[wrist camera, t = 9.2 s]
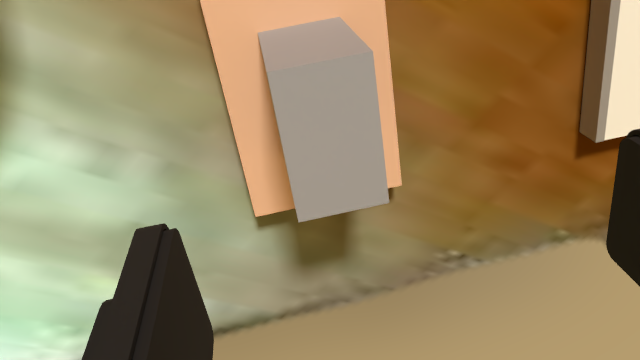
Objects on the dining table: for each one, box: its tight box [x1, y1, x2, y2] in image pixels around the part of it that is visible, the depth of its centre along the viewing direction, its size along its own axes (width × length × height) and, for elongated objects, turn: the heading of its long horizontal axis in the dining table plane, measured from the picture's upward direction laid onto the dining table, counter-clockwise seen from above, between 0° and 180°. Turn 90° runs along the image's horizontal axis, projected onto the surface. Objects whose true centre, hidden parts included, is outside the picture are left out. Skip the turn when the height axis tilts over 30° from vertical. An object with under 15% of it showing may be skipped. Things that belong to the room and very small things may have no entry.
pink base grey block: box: [200, 0, 402, 223], centre depth 19 cm, size 6×10×6 cm, turn 9°
